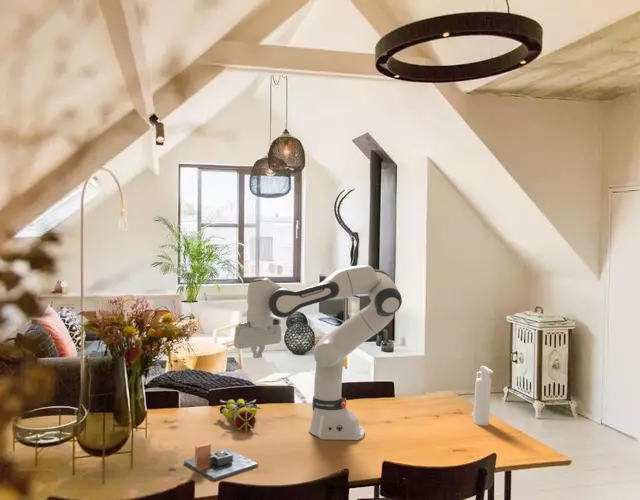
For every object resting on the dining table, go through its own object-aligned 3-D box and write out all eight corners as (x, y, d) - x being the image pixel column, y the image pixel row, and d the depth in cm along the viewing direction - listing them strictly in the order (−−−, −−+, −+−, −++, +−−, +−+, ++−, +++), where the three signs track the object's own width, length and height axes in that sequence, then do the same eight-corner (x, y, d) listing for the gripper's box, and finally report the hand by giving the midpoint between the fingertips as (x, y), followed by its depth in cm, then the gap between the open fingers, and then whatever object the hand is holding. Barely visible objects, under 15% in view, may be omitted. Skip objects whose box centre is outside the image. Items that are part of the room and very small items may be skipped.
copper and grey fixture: (199, 470, 194) (200, 449, 194) (191, 464, 199) (192, 444, 198) (232, 462, 202) (233, 442, 202) (224, 456, 206) (224, 437, 206)
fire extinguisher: (479, 416, 263) (481, 362, 261) (495, 426, 252) (497, 369, 250) (466, 418, 261) (468, 362, 259) (481, 428, 250) (483, 370, 248)
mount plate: (257, 466, 202) (258, 453, 202) (213, 481, 190) (214, 467, 190) (227, 450, 215) (227, 438, 215) (184, 463, 203) (184, 450, 202)
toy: (216, 415, 259) (225, 436, 230) (217, 394, 259) (226, 413, 230) (253, 412, 263) (266, 433, 235) (253, 392, 263) (267, 410, 235)
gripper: (240, 324, 212) (240, 362, 212) (284, 319, 226) (283, 355, 226) (230, 322, 216) (229, 359, 217) (273, 317, 230) (273, 352, 231)
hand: (257, 357), depth 222 cm, fingers closed
